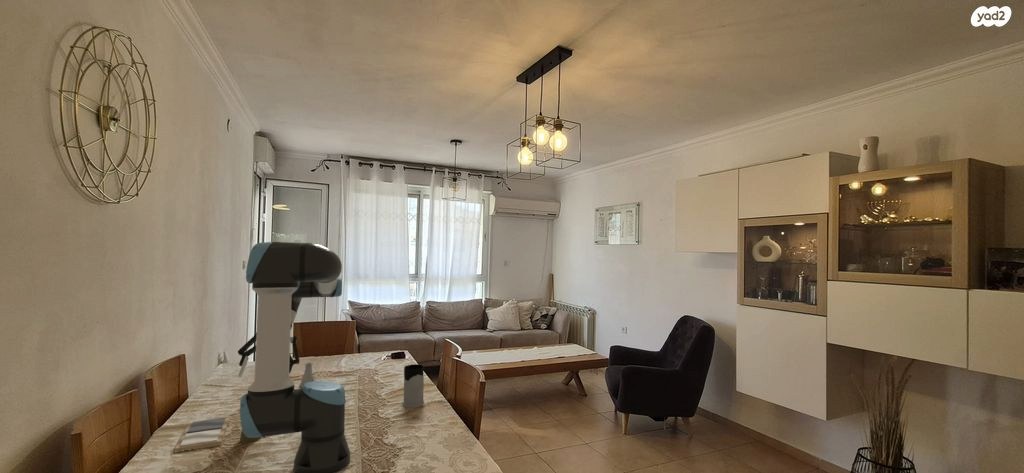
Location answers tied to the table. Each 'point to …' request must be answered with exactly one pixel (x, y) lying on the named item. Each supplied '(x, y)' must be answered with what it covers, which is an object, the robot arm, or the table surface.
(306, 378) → the flask
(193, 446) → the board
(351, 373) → the table surface
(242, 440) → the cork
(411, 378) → the glass holder
